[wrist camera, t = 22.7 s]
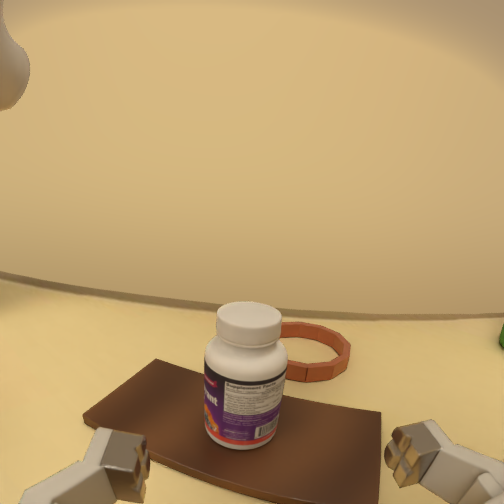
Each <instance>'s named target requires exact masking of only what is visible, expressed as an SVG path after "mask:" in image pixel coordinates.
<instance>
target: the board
mask: <svg viewBox="0 0 504 504" xmlns="http://www.w3.org/2000/svg"><path fill="white" fill-rule="evenodd" d="M83 419H84V422H85V423H86V424H87V425H89V426H91V427H92V428H94V429H97V428H98V427H103V428H108V429H113V430H119V431H124V432H129V433H135V434H141V435H145V436H146V440H147V446H146V450H147V451H148V452H149V456H150V459H152V460H155V461H157V462H159V463H161V464H163V465H166V466H168V467H170V468H173V469H175V470H177V471H180V472H182V473H185V474H187V475H190V476H192V477H195V478H197V479H200V480H203V481H205V482H208V483H211V484H214V485H217V486H220V487H223V488H226V489H229V490H232V491H235V492H238V493H242V494H245V495H248V496H252V497H256V498H259V499H263V500H267V501H271V502H275V503H279V504H378V499H379V484H380V464H381V412H376V411H369V410H362V409H355V408H348V407H342V406H336V405H330V404H325V403H319V402H314V401H309V400H304V399H299V398H294V397H289V396H285V395H282V400H281V406H280V412H279V418H278V423H277V428H276V431H275V434H274V436H273V437H272V439H271V440H270V441H269V442H267V443H266V444H264V445H262V446H260V447H257V448H254V449H248V450H237V449H231V448H227V447H224V446H222V445H220V444H218V443H217V442H215V441H214V440H213V439H212V438H211V437H210V436H209V434H208V433H207V431H206V428H205V419H204V374H201V373H198V372H195V371H192V370H189V369H186V368H182V367H179V366H176V365H173V364H170V363H168V362H165V361H162V360H159V359H155V360H153V361H152V362H151V363H149V364H148V365H147V366H146V367H144V368H143V369H142V370H140V371H139V372H138V373H136V374H135V375H134V376H133V377H131V378H130V379H129V380H127V381H126V382H125V383H123V384H122V385H121V386H120V387H118V388H117V389H116V390H114V391H113V392H112V393H110V394H109V395H108V396H106V397H105V398H104V399H102V400H101V401H100V402H98V403H97V404H96V405H94V406H93V407H92V408H90V409H89V410H88V411H86V412H85V413H84V414H83Z"/></svg>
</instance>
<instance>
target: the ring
mask: <svg viewBox="0 0 504 504" xmlns="http://www.w3.org/2000/svg"><path fill="white" fill-rule="evenodd" d="M280 337H303V338H309V339H314V340H318V341H320V342H322V343H325V344H327V345H329V346H331V347H333V348H334V349H335V350H336V352H337V353H338V354H339V355H340V356H339V357H337V358H335V359H333V360H332V361H330V362H321V363H310V364H306V363H301V362H296V361H291V360H288V362H287V370H286V377H285V378H286V379H291V380H296V381H301V382H313V381H322V380H330V379H332V378H334V377H335V376H337V375H338V374H340V373H342V372H343V371H345V370H346V368H347V364H348V360H349V356H350V347H351V345H350V343H349V342H348V341H347V340H346V339H345V338H344V337H343V336H342V335H341V334H340V333H338V332H335V331H333V330H331V329H328V328H326V327H324V326H321V325H315V324H309V323H304V322H282V323H281V334H280Z"/></svg>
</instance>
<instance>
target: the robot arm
mask: <svg viewBox="0 0 504 504" xmlns="http://www.w3.org/2000/svg"><path fill="white" fill-rule="evenodd" d="M3 1H4V0H0V111H3V110H7V109H10V108H12V107H13V106H14V105H15V104H16V103H17V101H18V100H19V99H20V98H21V96H22V95H23V93H24V91H25V89H26V87H27V84H28V80H29V76H30V63H29V59H28V56H27V54H26V52H25V51H24V49H23V48H22V47H20V46H19V45H18V44H17V43H16V42H15V41H14V40H13V39H12V37H11V36H10V35H9V33H8V31H7V29H6V26H5V23H4V19H3ZM391 436H392V438H393V439H392V440H391V441H390V442H389V443H388V444H387V446H386V448H385V451H384V458H385V462H386V464H387V466H388V467H389V468H390V469H392V470H394V473H393V477H394V479H395V481H396V483H397V484H398V486H399V488H402V487H406V486H410V485H413V484H417V483H419V484H420V485H422V486H423V487H425V488H426V489H428V490H429V491H431V492H432V493H434V494H435V495H437V496H439V497H440V498H442V499H443V500H445V501H446V502H448V503H450V504H504V462H501V461H499V460H496V459H493V458H491V457H488V456H486V455H483V454H480V453H478V452H475V451H473V450H470V449H468V448H466V447H463V446H461V445H458V444H455V445H454V444H453V443H452V442H451V440H450V439H449V438H448V437H447V435H446V434H445V433H444V432H443V431H442V429H441V428H440V427H439V426H438V424H437V423H436V422H435V421H434V420H432V419H430V420H426V421H422V422H418V423H413V424H409V425H405V426H400V427H397V428H395V429H394V431H393V433H392V435H391ZM146 446H147V440H146V436H145V435H141V434H135V433H129V432H124V431H119V430H113V429H108V428H103V427H98V428H97V429H96V431H95V433H94V435H93V438H92V440H91V442H90V445H89V447H88V449H87V452H86V454H85V457H84V459H83V461H77V462H75V463H73V464H71V465H70V466H68V467H66V468H64V469H63V470H61V471H59V472H57V473H56V474H54V475H52V476H50V477H48V478H47V479H45V480H43V481H41V482H39V483H37V484H35V485H34V486H32V487H30V488H28V489H26V490H25V491H24V493H23V495H22V497H21V499H20V501H19V503H18V504H114V503H115V502H116V501H117V500H122V501H128V502H135V503H142V504H143V503H144V498H145V493H146V485H145V480H146V479H148V477H149V471H150V456H149V452H148V451H147V450H146Z"/></svg>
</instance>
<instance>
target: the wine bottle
mask: <svg viewBox="0 0 504 504" xmlns="http://www.w3.org/2000/svg"><path fill="white" fill-rule="evenodd" d="M500 343H501V345H502V347H503V348H504V324H503V327H502V331H501V334H500Z"/></svg>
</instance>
